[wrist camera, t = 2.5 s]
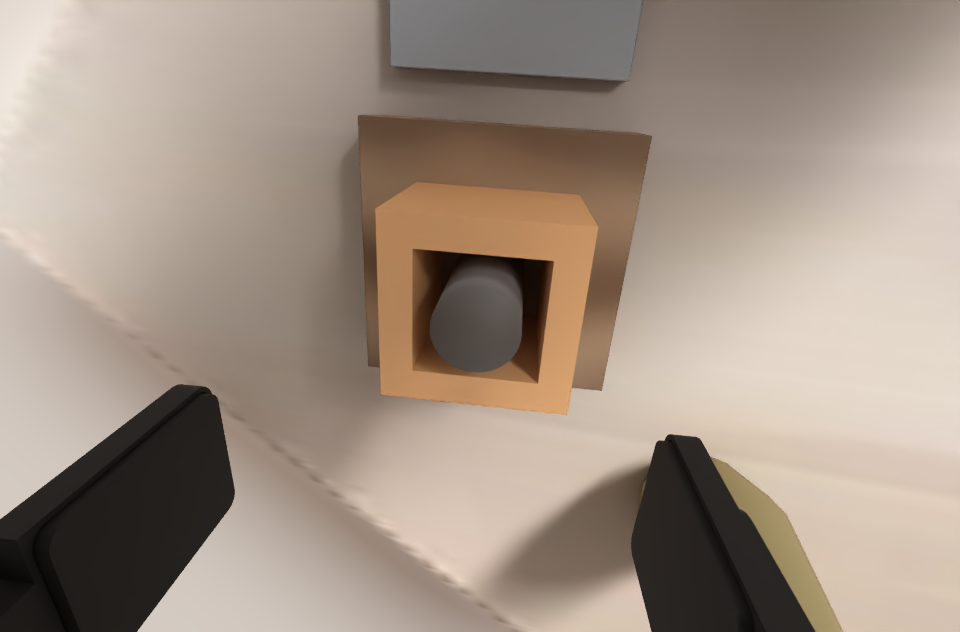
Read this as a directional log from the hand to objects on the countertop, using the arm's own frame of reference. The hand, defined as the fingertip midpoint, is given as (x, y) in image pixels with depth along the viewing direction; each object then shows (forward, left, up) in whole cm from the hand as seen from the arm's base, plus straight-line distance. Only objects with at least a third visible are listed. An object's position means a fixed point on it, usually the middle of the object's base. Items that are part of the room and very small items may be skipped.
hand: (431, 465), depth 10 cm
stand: (0, 0, -15) cm, 15 cm away
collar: (0, 0, -13) cm, 13 cm away
